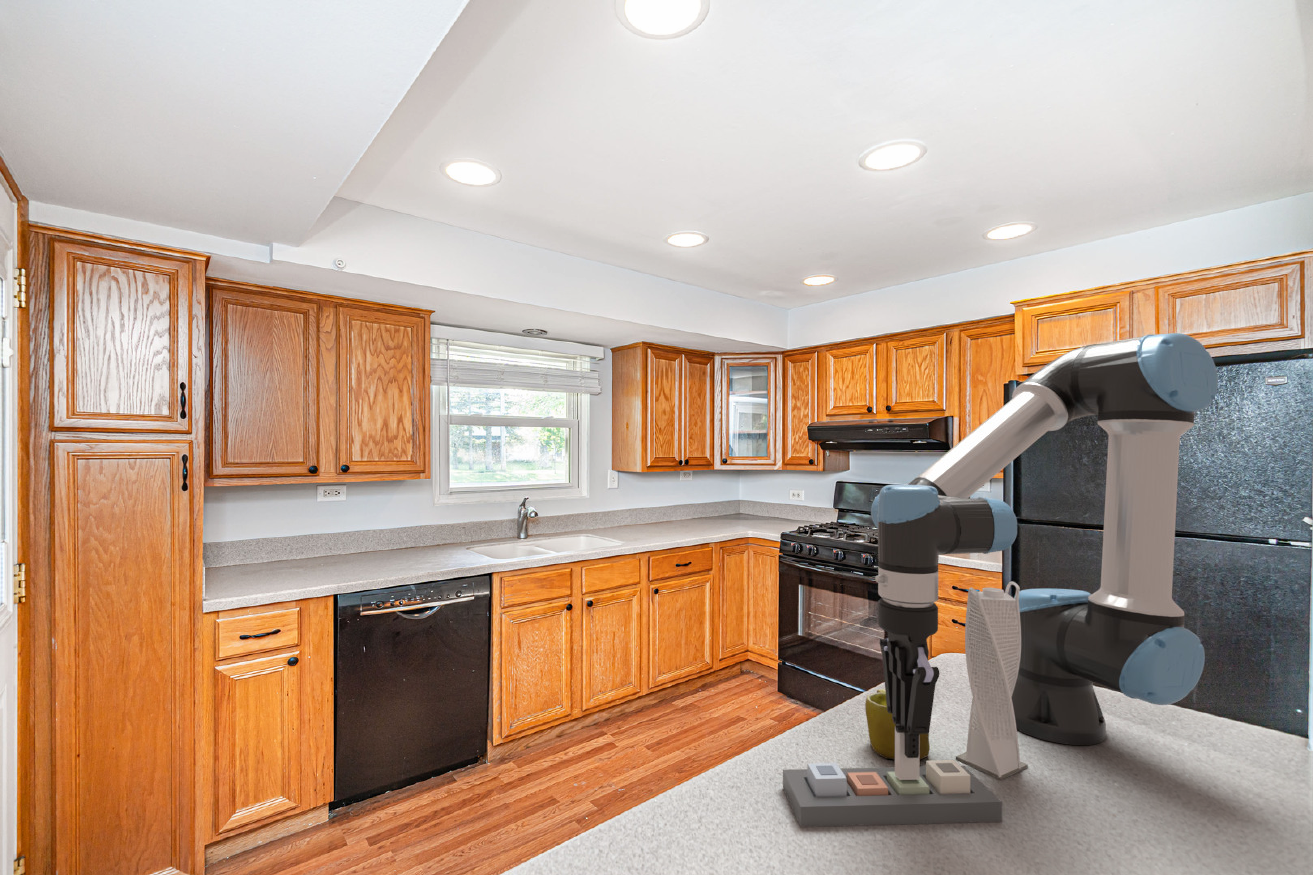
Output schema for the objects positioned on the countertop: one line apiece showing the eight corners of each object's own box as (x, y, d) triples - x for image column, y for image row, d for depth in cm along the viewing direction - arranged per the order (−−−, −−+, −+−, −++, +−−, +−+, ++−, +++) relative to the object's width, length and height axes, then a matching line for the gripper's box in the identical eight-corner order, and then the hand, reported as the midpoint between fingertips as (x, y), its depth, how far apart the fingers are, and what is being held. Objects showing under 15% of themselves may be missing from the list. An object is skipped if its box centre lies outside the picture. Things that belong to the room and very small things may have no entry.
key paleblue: (836, 784, 86) (836, 761, 86) (846, 801, 82) (846, 777, 82) (807, 785, 86) (807, 762, 86) (816, 802, 82) (816, 778, 82)
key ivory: (954, 781, 87) (954, 759, 87) (970, 798, 83) (970, 774, 83) (926, 782, 87) (926, 759, 87) (940, 799, 83) (940, 775, 83)
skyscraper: (1037, 771, 93) (1037, 580, 93) (1006, 786, 89) (1005, 587, 89) (982, 747, 100) (982, 570, 100) (951, 760, 96) (951, 576, 96)
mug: (950, 760, 92) (925, 689, 95) (880, 775, 94) (857, 705, 97) (936, 739, 104) (914, 676, 106) (874, 752, 106) (854, 691, 108)
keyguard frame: (964, 783, 89) (964, 765, 89) (1002, 821, 80) (1002, 801, 80) (782, 787, 88) (782, 769, 88) (800, 826, 79) (800, 806, 79)
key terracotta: (875, 793, 86) (875, 771, 86) (888, 810, 82) (888, 787, 82) (847, 794, 86) (847, 771, 86) (857, 811, 82) (857, 787, 82)
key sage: (915, 792, 87) (915, 770, 87) (929, 809, 83) (929, 786, 83) (886, 793, 86) (886, 770, 86) (899, 810, 82) (899, 786, 82)
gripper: (861, 589, 91) (861, 753, 91) (901, 613, 78) (900, 805, 78) (912, 588, 91) (912, 752, 91) (960, 613, 78) (960, 804, 78)
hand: (907, 776), depth 84 cm, fingers closed
